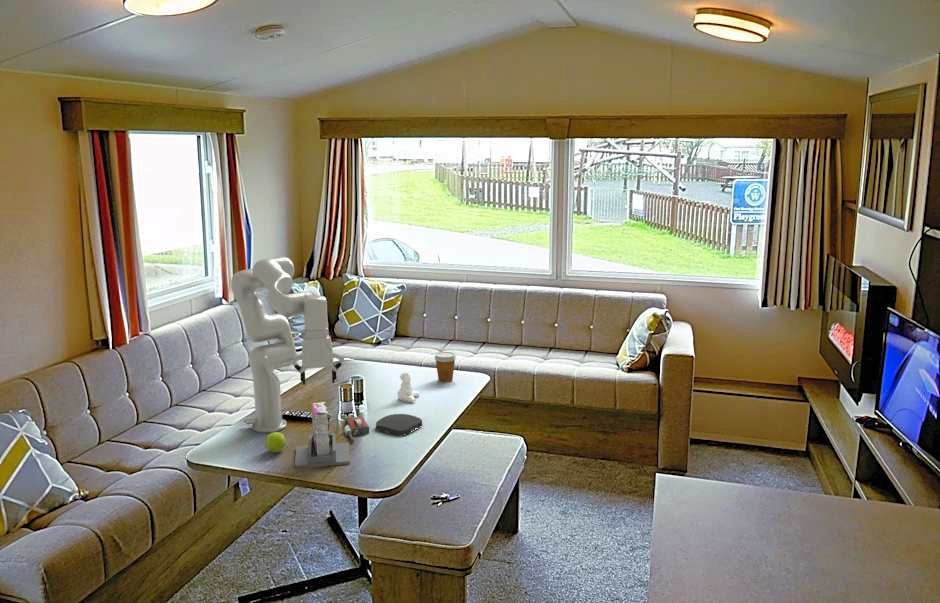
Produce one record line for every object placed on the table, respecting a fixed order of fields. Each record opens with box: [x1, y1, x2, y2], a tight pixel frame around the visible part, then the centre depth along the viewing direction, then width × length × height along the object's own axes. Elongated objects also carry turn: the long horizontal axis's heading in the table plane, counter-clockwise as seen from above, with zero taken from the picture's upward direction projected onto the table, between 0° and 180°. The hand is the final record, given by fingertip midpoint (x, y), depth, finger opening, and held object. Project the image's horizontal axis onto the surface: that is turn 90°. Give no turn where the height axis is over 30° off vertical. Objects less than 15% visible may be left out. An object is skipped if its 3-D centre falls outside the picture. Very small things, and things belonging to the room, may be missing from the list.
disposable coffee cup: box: [434, 351, 457, 383], centre depth 339 cm, size 10×10×12 cm
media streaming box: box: [375, 413, 423, 436], centre depth 286 cm, size 15×15×3 cm
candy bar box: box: [310, 401, 331, 456], centre depth 258 cm, size 11×5×16 cm, turn 17°
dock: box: [294, 433, 351, 469], centre depth 260 cm, size 18×16×5 cm
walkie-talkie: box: [343, 416, 370, 443], centre depth 281 cm, size 9×4×20 cm
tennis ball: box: [264, 431, 287, 453], centre depth 264 cm, size 7×7×7 cm
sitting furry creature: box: [396, 371, 420, 404], centre depth 315 cm, size 10×9×12 cm
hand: (318, 382), depth 255 cm, fingers open, 9 cm apart
